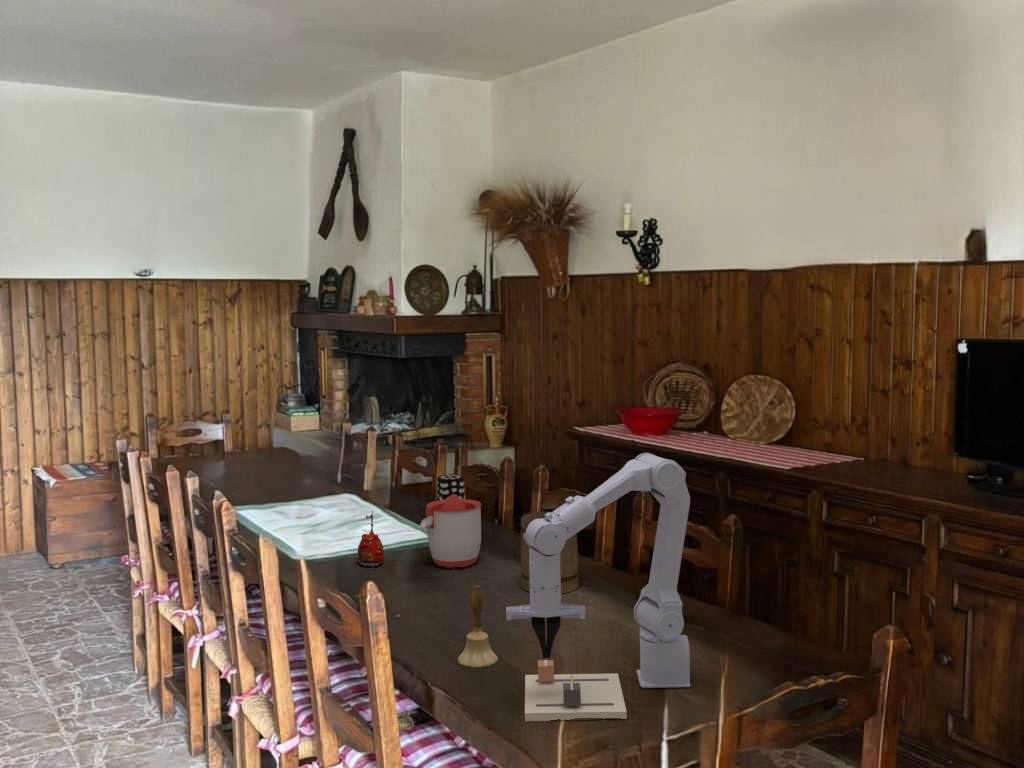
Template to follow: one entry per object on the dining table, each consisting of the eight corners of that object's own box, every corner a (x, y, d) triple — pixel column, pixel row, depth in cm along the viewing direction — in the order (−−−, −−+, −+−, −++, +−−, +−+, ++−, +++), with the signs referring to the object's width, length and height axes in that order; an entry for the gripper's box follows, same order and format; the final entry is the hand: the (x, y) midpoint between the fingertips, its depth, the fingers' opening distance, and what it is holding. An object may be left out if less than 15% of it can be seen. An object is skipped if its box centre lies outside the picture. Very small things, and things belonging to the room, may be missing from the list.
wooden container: (579, 577, 255) (578, 496, 253) (577, 595, 240) (576, 509, 238) (523, 577, 256) (521, 496, 254) (518, 595, 241) (516, 509, 239)
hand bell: (497, 651, 204) (495, 578, 202) (498, 667, 196) (496, 590, 194) (458, 653, 204) (455, 579, 202) (457, 668, 195) (454, 592, 194)
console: (617, 680, 187) (617, 672, 187) (626, 719, 170) (626, 710, 170) (525, 682, 187) (525, 674, 187) (525, 721, 171) (524, 712, 170)
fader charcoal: (579, 698, 175) (579, 682, 174) (580, 705, 172) (580, 689, 171) (563, 699, 175) (563, 682, 174) (564, 706, 172) (563, 689, 171)
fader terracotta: (553, 675, 186) (553, 659, 185) (554, 681, 183) (553, 665, 182) (538, 675, 186) (537, 660, 185) (538, 681, 183) (537, 666, 182)
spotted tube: (436, 539, 298) (434, 475, 296) (462, 536, 301) (460, 473, 299) (442, 545, 290) (440, 480, 288) (469, 543, 293) (467, 478, 291)
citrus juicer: (414, 561, 274) (411, 492, 272) (470, 553, 281) (468, 486, 279) (433, 575, 260) (430, 503, 258) (491, 566, 267) (489, 495, 265)
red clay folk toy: (354, 567, 270) (351, 515, 268) (364, 560, 276) (362, 509, 275) (378, 569, 268) (376, 516, 266) (389, 562, 274) (387, 510, 273)
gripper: (583, 577, 181) (584, 647, 182) (506, 578, 181) (507, 648, 182) (585, 589, 174) (586, 661, 175) (505, 590, 174) (507, 663, 175)
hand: (546, 656), depth 178 cm, fingers closed
